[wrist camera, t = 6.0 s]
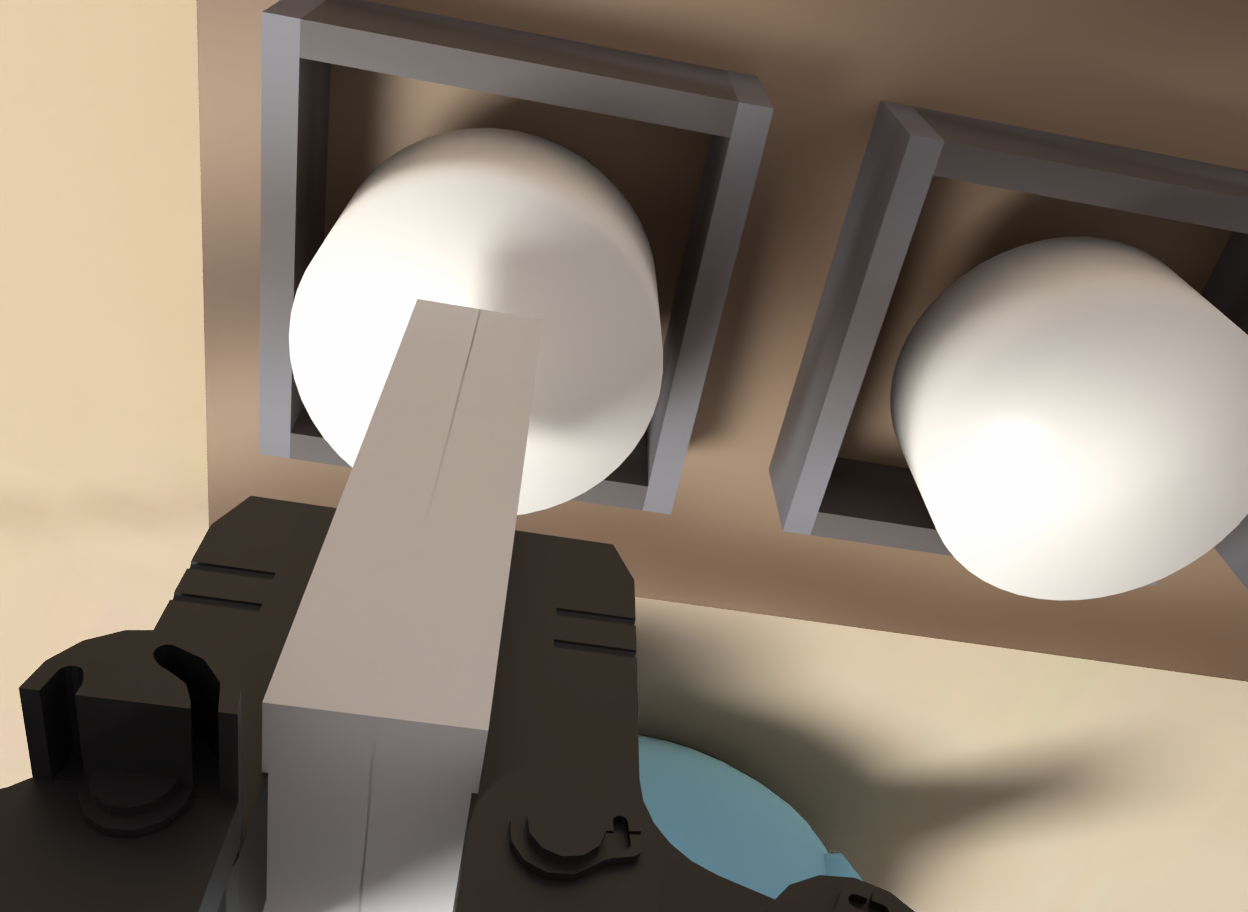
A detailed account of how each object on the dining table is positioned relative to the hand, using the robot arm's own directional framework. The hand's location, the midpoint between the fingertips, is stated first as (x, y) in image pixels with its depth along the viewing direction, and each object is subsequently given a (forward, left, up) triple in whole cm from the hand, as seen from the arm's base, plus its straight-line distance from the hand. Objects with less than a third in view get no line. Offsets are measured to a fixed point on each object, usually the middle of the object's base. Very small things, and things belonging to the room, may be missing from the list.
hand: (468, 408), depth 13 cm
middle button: (0, -9, -4) cm, 10 cm away
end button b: (0, 0, -4) cm, 4 cm away
